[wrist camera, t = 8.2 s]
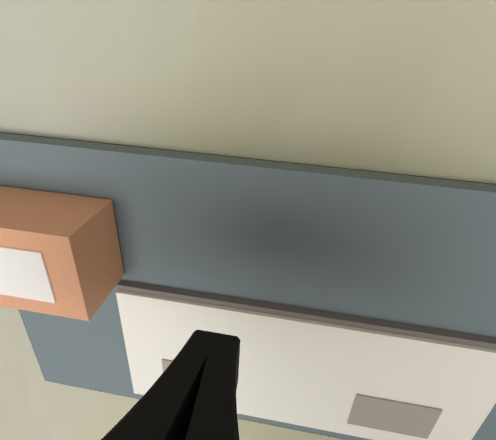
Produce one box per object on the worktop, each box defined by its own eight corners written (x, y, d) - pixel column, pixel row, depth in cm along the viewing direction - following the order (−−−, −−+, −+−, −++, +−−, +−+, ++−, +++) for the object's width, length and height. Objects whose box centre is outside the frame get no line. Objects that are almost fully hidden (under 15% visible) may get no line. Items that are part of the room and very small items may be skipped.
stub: (124, 275, 17) (87, 323, 14) (10, 257, 17) (-46, 300, 15) (112, 199, 15) (66, 238, 12) (-16, 183, 15) (-86, 217, 13)
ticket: (456, 445, 19) (460, 458, 18) (138, 384, 21) (133, 394, 20) (521, 341, 15) (530, 354, 14) (120, 279, 17) (113, 289, 16)
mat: (488, 453, 20) (494, 469, 19) (53, 369, 23) (44, 380, 22) (671, 203, 12) (693, 214, 11) (-31, 129, 15) (-48, 134, 14)
